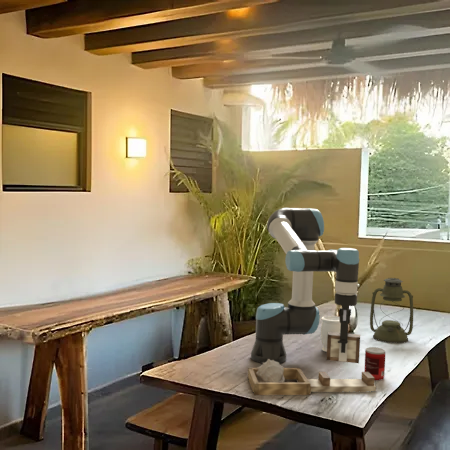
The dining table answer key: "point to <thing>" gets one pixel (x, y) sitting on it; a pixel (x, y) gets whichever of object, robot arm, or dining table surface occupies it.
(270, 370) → the seashell
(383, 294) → the lantern
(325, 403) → the dining table surface
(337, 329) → the jar
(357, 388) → the ledge
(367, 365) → the canned food
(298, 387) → the shell cradle
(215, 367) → the dining table surface
